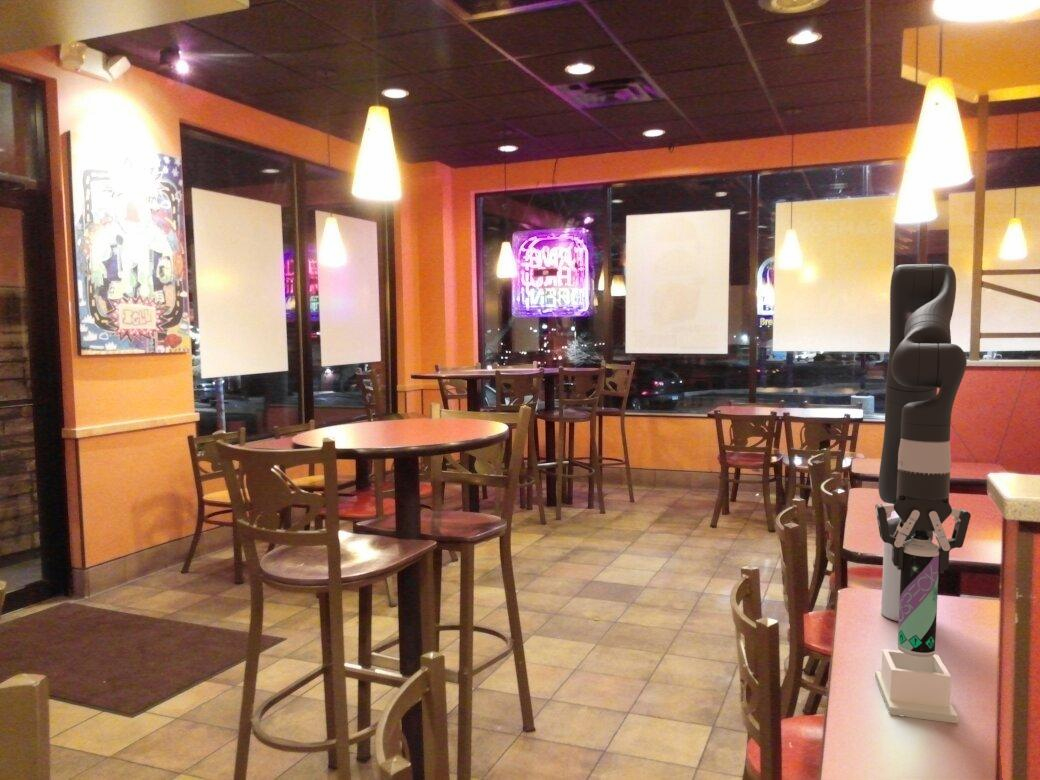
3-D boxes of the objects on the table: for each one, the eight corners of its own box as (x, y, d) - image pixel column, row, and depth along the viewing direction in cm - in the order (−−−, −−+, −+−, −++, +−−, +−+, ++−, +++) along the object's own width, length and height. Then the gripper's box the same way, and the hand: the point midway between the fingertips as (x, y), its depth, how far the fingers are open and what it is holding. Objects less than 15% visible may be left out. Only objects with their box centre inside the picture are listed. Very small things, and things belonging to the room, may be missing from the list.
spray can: (891, 643, 131) (896, 525, 129) (924, 643, 130) (930, 526, 129) (906, 656, 125) (912, 534, 124) (941, 657, 125) (947, 534, 124)
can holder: (875, 677, 136) (876, 642, 136) (936, 684, 134) (937, 649, 133) (889, 714, 123) (890, 676, 122) (957, 723, 120) (959, 684, 120)
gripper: (967, 465, 127) (962, 567, 128) (871, 461, 131) (867, 560, 132) (980, 473, 120) (975, 581, 121) (879, 468, 124) (874, 573, 125)
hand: (919, 569), depth 127 cm, fingers closed on spray can, 5 cm apart
